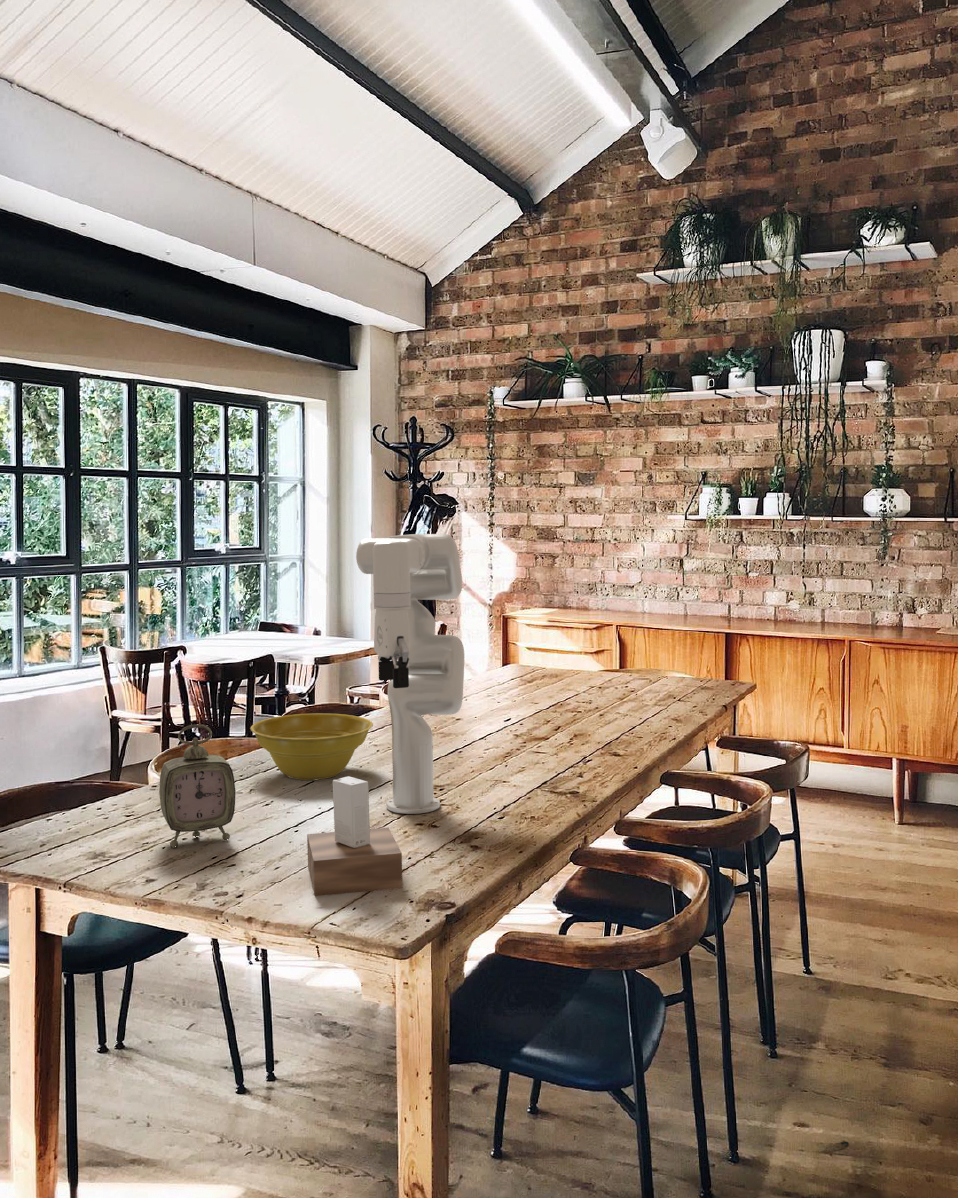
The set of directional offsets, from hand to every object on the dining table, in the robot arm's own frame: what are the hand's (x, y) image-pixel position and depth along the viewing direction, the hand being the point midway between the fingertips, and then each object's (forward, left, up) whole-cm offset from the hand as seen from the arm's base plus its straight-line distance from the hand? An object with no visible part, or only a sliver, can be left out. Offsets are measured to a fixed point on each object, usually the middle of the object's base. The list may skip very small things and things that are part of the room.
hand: (393, 683), depth 210 cm
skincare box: (+15, -14, -27) cm, 34 cm away
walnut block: (+16, -14, -34) cm, 40 cm away
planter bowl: (-65, -2, -34) cm, 74 cm away
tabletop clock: (-19, -38, -34) cm, 54 cm away
